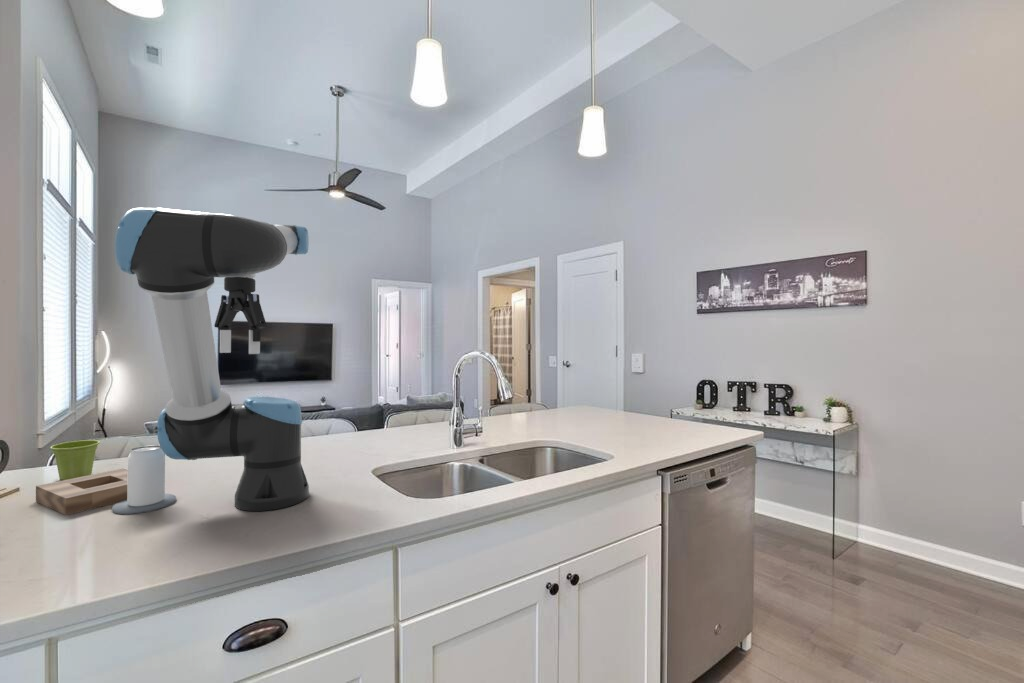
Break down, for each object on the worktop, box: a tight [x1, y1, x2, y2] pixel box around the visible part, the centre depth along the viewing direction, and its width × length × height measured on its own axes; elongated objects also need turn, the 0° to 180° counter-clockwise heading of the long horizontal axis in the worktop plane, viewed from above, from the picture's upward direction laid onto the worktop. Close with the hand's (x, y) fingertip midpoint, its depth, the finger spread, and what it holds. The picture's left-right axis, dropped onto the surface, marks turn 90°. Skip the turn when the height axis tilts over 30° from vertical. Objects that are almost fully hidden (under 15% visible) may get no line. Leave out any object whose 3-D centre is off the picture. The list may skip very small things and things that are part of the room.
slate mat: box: [111, 493, 177, 515], centre depth 101 cm, size 11×11×1 cm
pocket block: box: [35, 468, 128, 516], centre depth 106 cm, size 16×16×4 cm
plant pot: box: [50, 439, 101, 481], centre depth 120 cm, size 9×9×9 cm
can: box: [127, 444, 166, 507], centre depth 101 cm, size 6×6×12 cm
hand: (239, 353), depth 128 cm, fingers open, 13 cm apart
